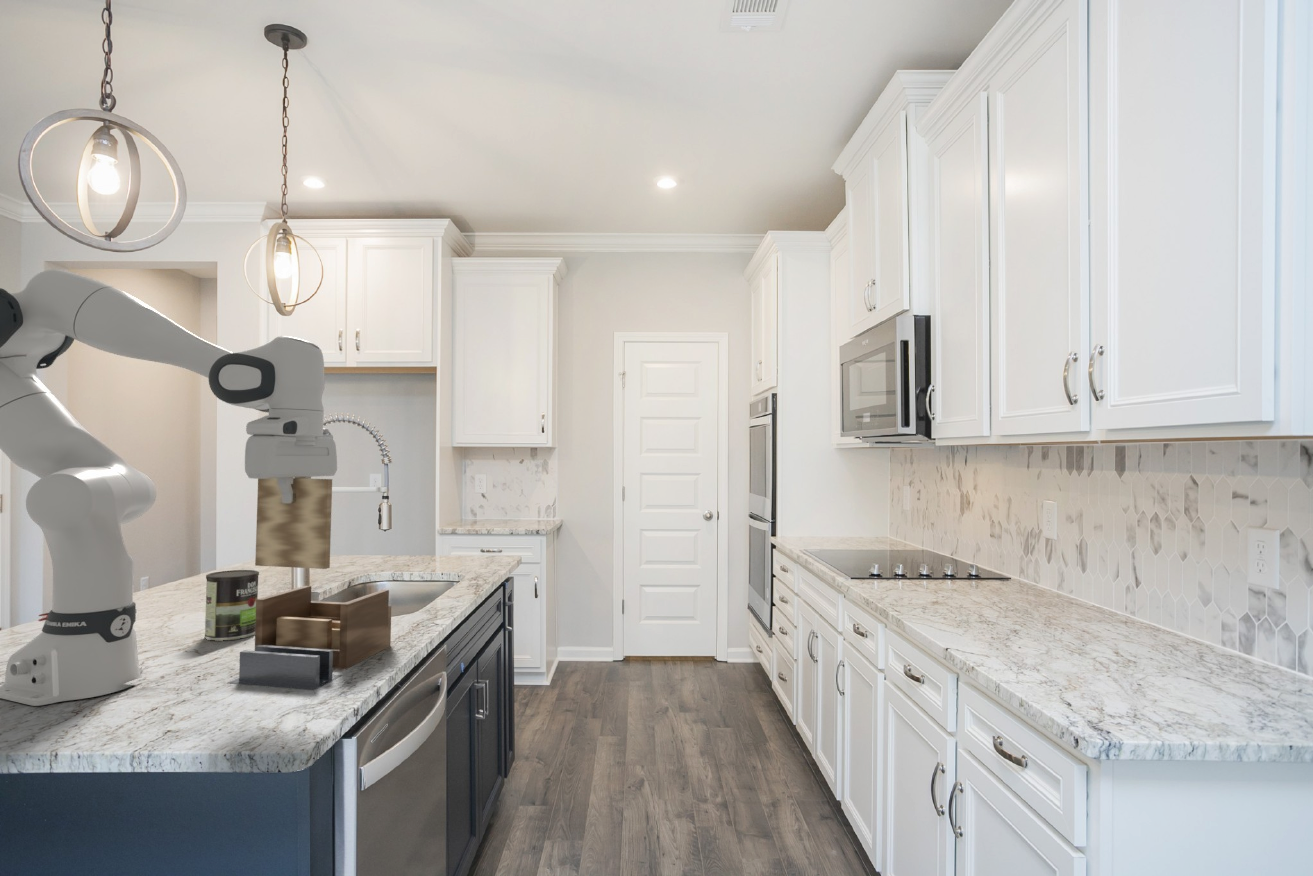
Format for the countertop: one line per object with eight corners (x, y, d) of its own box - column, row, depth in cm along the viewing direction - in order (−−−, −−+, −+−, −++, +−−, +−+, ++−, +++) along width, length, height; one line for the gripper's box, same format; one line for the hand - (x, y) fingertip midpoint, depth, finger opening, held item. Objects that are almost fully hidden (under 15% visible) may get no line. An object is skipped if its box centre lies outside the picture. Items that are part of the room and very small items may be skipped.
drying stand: (226, 691, 119) (227, 654, 119) (260, 677, 126) (261, 641, 127) (313, 698, 116) (314, 660, 116) (342, 683, 124) (343, 647, 124)
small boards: (275, 659, 132) (276, 618, 133) (291, 652, 137) (292, 613, 137) (342, 664, 130) (344, 622, 130) (356, 657, 134) (357, 616, 135)
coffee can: (267, 630, 159) (269, 570, 159) (233, 642, 149) (235, 578, 149) (228, 628, 161) (230, 568, 161) (192, 639, 150) (194, 576, 151)
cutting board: (255, 565, 123) (258, 477, 124) (260, 564, 124) (263, 477, 125) (325, 568, 121) (328, 479, 121) (329, 567, 122) (332, 479, 123)
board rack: (252, 670, 130) (254, 599, 130) (308, 647, 146) (309, 584, 146) (344, 677, 127) (346, 605, 127) (391, 653, 143) (392, 588, 143)
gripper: (317, 428, 134) (315, 498, 134) (238, 423, 114) (235, 506, 113) (346, 429, 133) (344, 499, 133) (272, 424, 113) (269, 507, 112)
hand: (293, 502), depth 123 cm, fingers closed on cutting board, 1 cm apart
